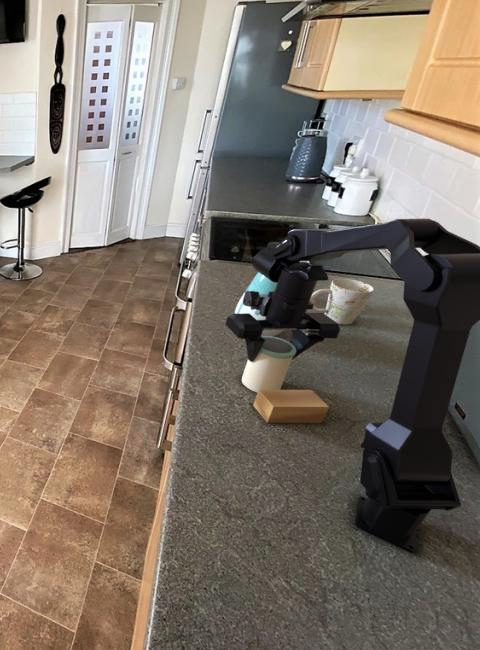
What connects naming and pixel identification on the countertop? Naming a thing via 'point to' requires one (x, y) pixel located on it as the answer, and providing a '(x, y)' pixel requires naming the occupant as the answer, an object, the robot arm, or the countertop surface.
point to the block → (290, 406)
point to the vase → (263, 287)
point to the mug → (344, 299)
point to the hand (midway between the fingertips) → (268, 360)
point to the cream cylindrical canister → (269, 365)
